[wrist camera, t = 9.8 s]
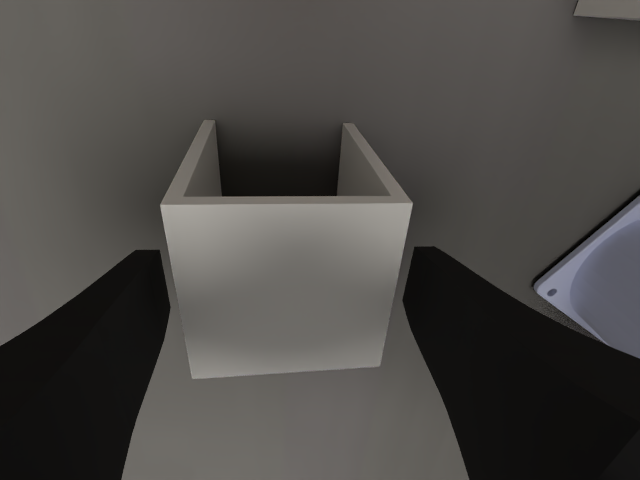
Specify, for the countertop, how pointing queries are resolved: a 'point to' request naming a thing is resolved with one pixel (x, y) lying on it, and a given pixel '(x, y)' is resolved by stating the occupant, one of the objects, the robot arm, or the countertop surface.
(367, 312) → the left cover
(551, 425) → the robot arm
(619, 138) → the countertop surface
